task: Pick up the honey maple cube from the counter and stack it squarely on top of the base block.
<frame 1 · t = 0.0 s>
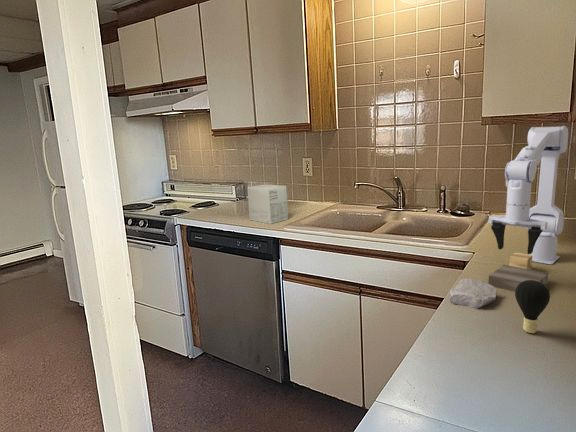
hand: (515, 250, 119), 10 cm above the table, tool pointing down, fingers open, 7 cm apart
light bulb: (529, 332, 94), on the table
maple cube: (520, 271, 131), on the table
supplement box: (269, 220, 222), on the table
base block: (517, 284, 121), on the table
stone block: (474, 301, 112), on the table
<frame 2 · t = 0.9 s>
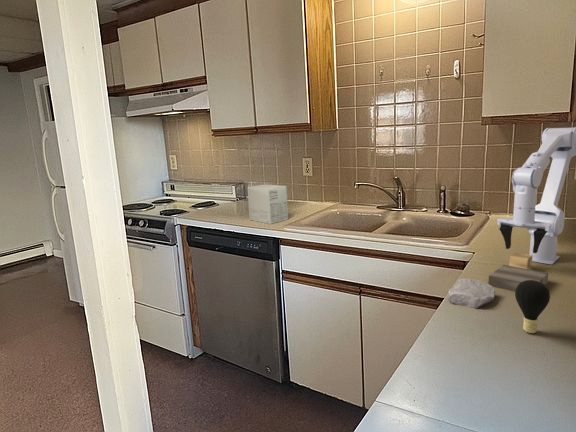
hand: (521, 250, 130), 7 cm above the table, tool pointing down, fingers open, 7 cm apart
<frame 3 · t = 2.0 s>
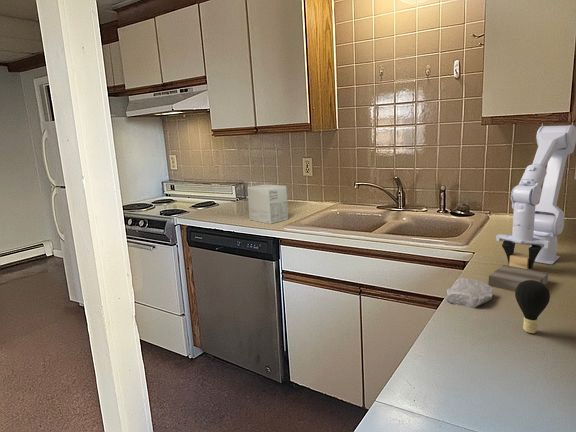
hand: (520, 266, 131), 1 cm above the table, tool pointing down, fingers closed on maple cube, 5 cm apart
maple cube: (520, 270, 131), on the table, touching gripper
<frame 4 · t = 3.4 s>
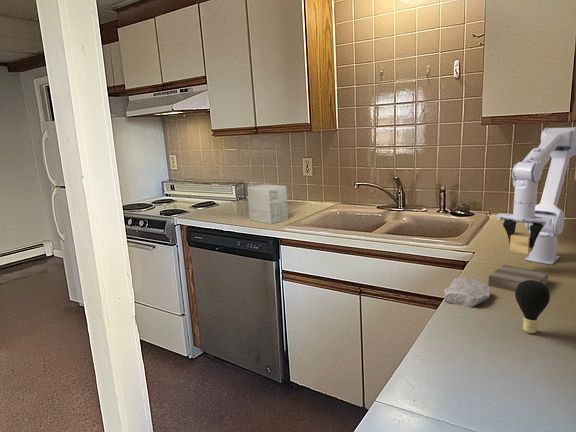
hand: (521, 245, 128), 8 cm above the table, tool pointing down, fingers closed on maple cube, 5 cm apart
maple cube: (521, 250, 129), point 7 cm above the table, touching gripper
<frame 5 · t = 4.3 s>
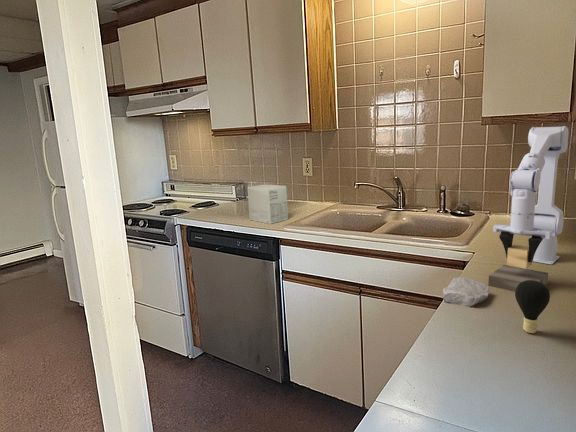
hand: (519, 259, 119), 7 cm above the table, tool pointing down, fingers closed on maple cube, 5 cm apart
maple cube: (519, 264, 120), point 6 cm above the table, touching gripper
when the fingers open (5 cm above the table, at t = 5.1 s): maple cube stays where it is, resting on base block.
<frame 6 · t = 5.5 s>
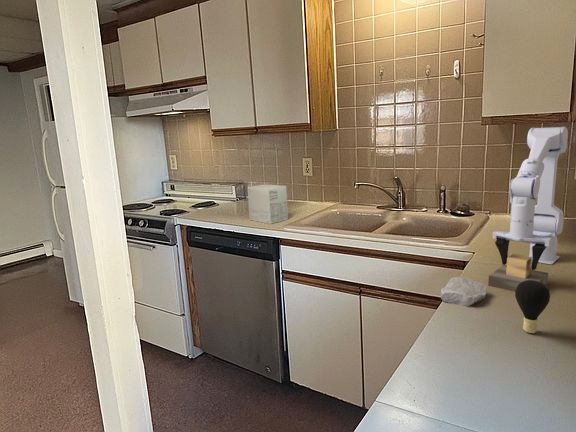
hand: (519, 266, 120), 5 cm above the table, tool pointing down, fingers open, 7 cm apart
maple cube: (518, 274, 120), point 3 cm above the table, touching base block
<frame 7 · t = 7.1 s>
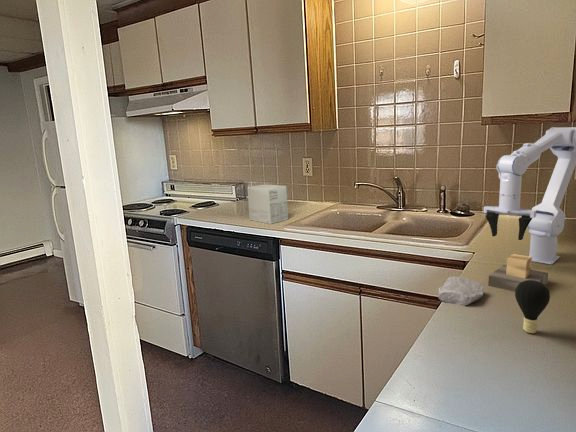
hand: (507, 237, 131), 10 cm above the table, tool pointing down, fingers open, 7 cm apart
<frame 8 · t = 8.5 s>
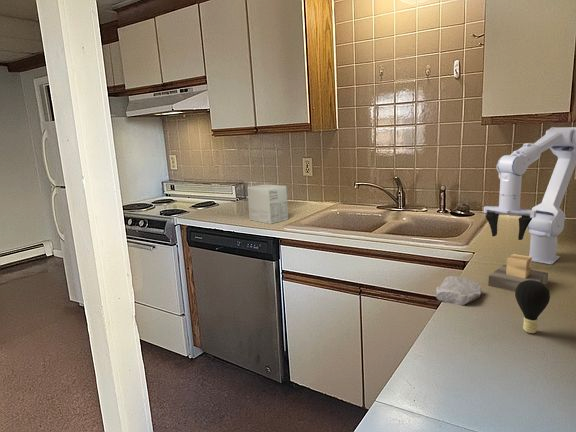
hand: (507, 237, 131), 10 cm above the table, tool pointing down, fingers open, 7 cm apart
at the end: maple cube 0.1 cm off-centre on the base block, point 3.0 cm above the base block's base; maple cube tilted 0°; the gripper is holding nothing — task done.
